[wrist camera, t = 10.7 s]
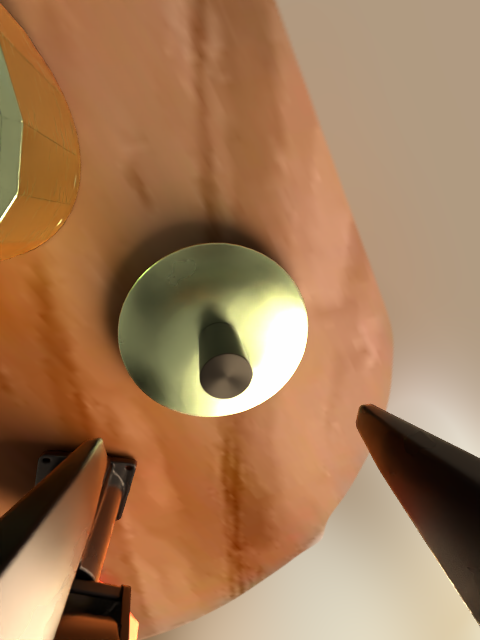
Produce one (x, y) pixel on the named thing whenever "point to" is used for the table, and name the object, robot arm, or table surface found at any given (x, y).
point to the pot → (32, 146)
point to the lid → (212, 329)
